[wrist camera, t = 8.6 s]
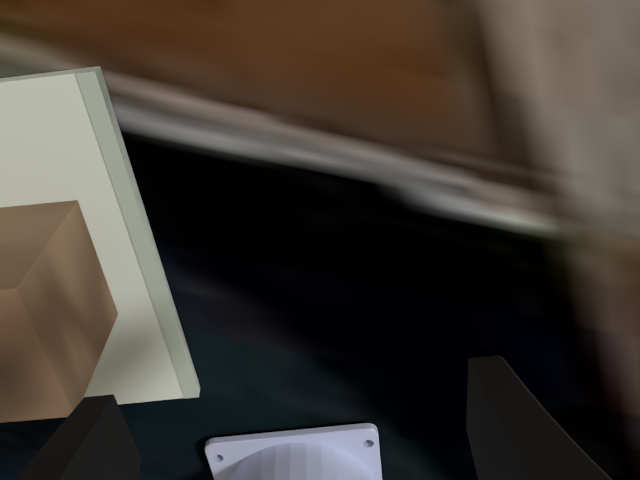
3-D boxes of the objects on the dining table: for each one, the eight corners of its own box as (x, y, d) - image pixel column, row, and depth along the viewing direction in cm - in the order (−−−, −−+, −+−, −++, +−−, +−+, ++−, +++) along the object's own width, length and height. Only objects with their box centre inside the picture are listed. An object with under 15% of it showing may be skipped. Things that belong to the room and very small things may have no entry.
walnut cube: (118, 314, 22) (75, 416, 18) (-9, 325, 22) (-82, 429, 18) (77, 200, 20) (15, 288, 15) (-66, 213, 20) (-167, 305, 16)
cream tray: (200, 387, 25) (198, 397, 25) (-1, 408, 26) (-7, 417, 25) (100, 66, 18) (94, 71, 17) (-182, 100, 18) (-194, 106, 18)
